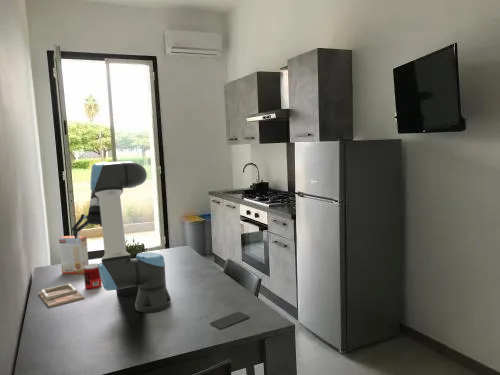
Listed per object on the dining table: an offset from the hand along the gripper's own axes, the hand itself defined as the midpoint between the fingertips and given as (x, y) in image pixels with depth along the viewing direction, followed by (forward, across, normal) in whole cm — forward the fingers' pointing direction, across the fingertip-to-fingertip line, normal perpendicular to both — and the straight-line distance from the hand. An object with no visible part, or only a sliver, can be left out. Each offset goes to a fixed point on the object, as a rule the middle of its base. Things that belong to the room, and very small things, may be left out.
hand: (91, 245), depth 198 cm
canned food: (+17, -4, -12) cm, 22 cm away
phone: (+48, -55, +47) cm, 87 cm away
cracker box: (+1, +7, -39) cm, 40 cm away
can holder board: (+24, +10, -7) cm, 27 cm away
